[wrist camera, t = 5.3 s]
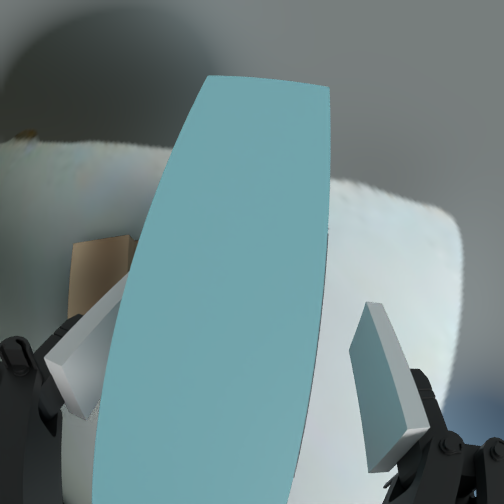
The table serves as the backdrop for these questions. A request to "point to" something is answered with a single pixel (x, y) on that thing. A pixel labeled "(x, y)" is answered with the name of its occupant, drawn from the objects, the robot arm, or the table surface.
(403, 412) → the robot arm
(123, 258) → the block
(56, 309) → the table surface
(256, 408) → the teal board
